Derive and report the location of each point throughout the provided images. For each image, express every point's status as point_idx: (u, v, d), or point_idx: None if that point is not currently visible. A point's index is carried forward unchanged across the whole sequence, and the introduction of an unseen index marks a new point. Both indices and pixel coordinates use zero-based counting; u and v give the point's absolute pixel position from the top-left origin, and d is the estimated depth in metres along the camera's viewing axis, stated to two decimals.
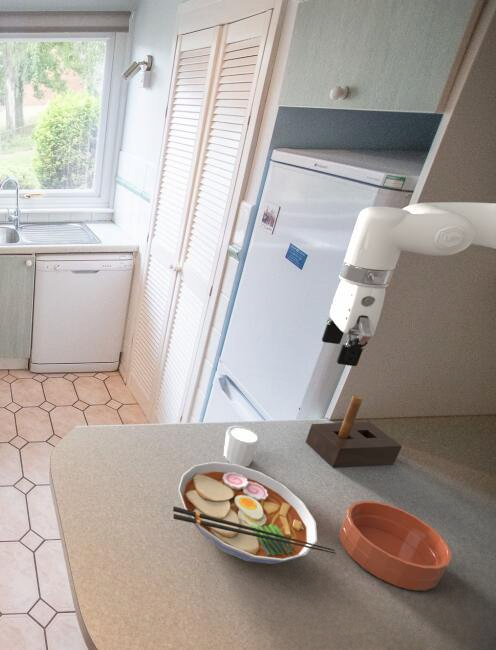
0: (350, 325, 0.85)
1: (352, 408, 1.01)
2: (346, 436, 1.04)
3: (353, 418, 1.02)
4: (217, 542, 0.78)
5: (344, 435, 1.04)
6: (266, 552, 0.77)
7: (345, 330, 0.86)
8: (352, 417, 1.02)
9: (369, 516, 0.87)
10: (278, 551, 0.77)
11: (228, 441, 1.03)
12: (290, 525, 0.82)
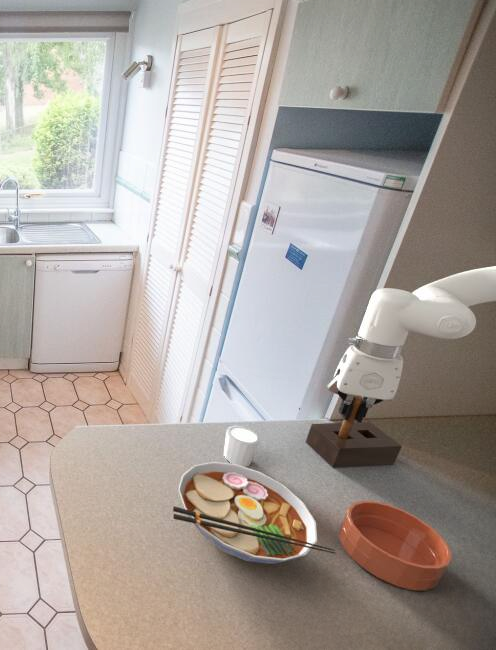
0: None
1: None
2: (346, 436, 1.04)
3: (353, 418, 1.02)
4: (217, 542, 0.78)
5: (344, 435, 1.04)
6: (266, 552, 0.77)
7: None
8: (352, 417, 1.02)
9: (369, 516, 0.87)
10: (278, 551, 0.77)
11: (228, 441, 1.03)
12: (290, 525, 0.82)
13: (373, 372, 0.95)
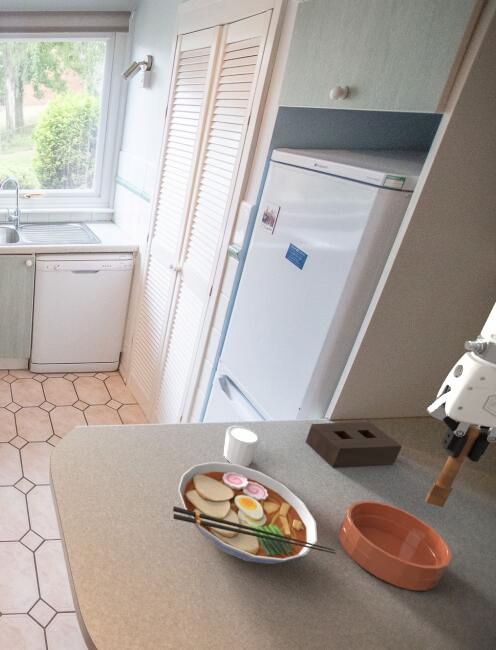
0: None
1: None
2: (451, 481, 0.74)
3: (464, 456, 0.72)
4: (217, 542, 0.78)
5: (447, 480, 0.74)
6: (266, 552, 0.77)
7: None
8: (463, 455, 0.72)
9: (369, 516, 0.87)
10: (278, 551, 0.77)
11: (228, 441, 1.03)
12: (290, 525, 0.82)
13: None
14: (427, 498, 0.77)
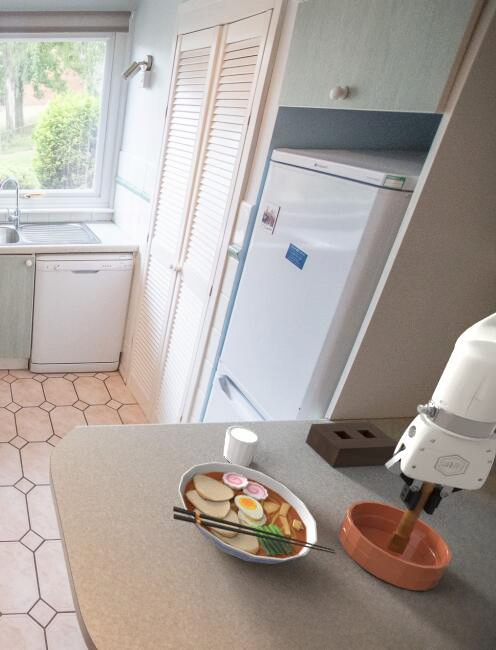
0: None
1: None
2: (409, 531, 0.78)
3: (420, 509, 0.76)
4: (217, 542, 0.78)
5: (405, 530, 0.78)
6: (266, 552, 0.77)
7: None
8: (418, 508, 0.76)
9: (369, 516, 0.87)
10: (278, 551, 0.77)
11: (228, 441, 1.03)
12: (290, 525, 0.82)
13: (455, 454, 0.69)
14: (388, 545, 0.81)
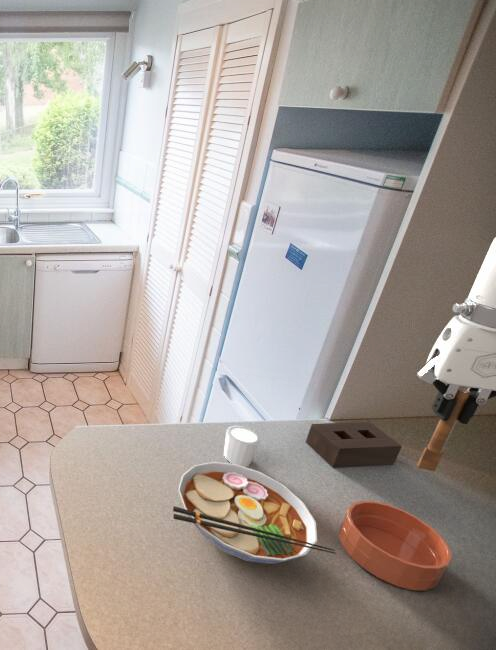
0: None
1: None
2: (442, 444, 0.75)
3: (454, 419, 0.73)
4: (217, 542, 0.78)
5: (438, 443, 0.75)
6: (266, 552, 0.77)
7: None
8: (453, 418, 0.73)
9: (369, 516, 0.87)
10: (278, 551, 0.77)
11: (228, 441, 1.03)
12: (290, 525, 0.82)
13: (493, 352, 0.66)
14: (419, 463, 0.78)
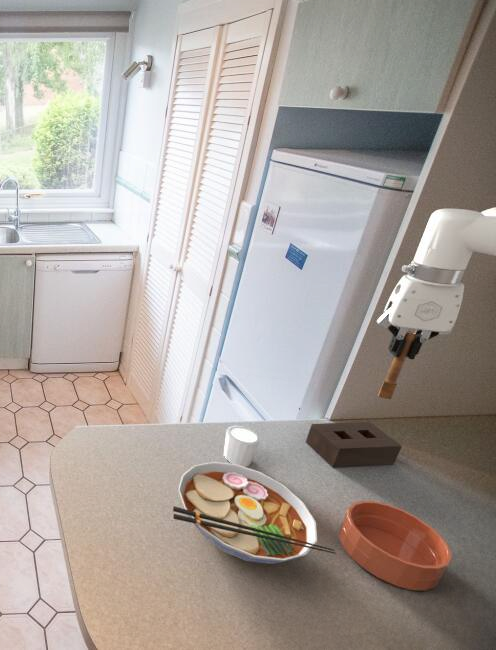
0: None
1: None
2: (396, 377, 0.97)
3: (404, 356, 0.95)
4: (217, 542, 0.78)
5: (393, 376, 0.97)
6: (266, 552, 0.77)
7: None
8: (403, 355, 0.95)
9: (369, 516, 0.87)
10: (278, 551, 0.77)
11: (228, 441, 1.03)
12: (290, 525, 0.82)
13: (430, 301, 0.88)
14: (379, 393, 1.00)
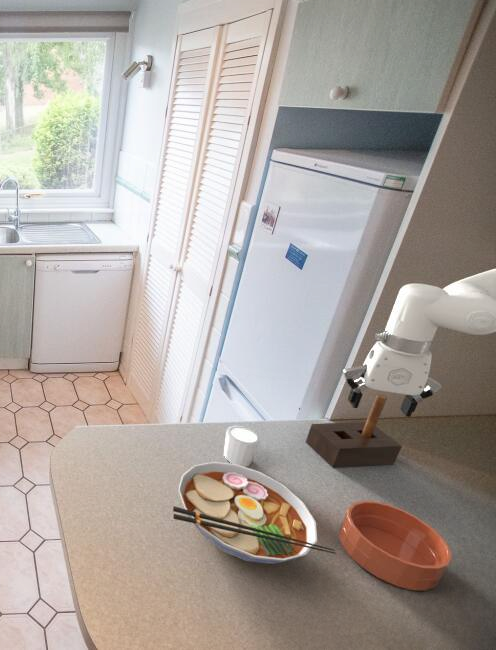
0: None
1: (375, 407, 1.02)
2: (369, 435, 1.04)
3: (376, 417, 1.02)
4: (217, 542, 0.78)
5: (366, 434, 1.04)
6: (266, 552, 0.77)
7: None
8: (375, 416, 1.02)
9: (369, 516, 0.87)
10: (278, 551, 0.77)
11: (228, 441, 1.03)
12: (290, 525, 0.82)
13: (401, 368, 0.95)
14: None
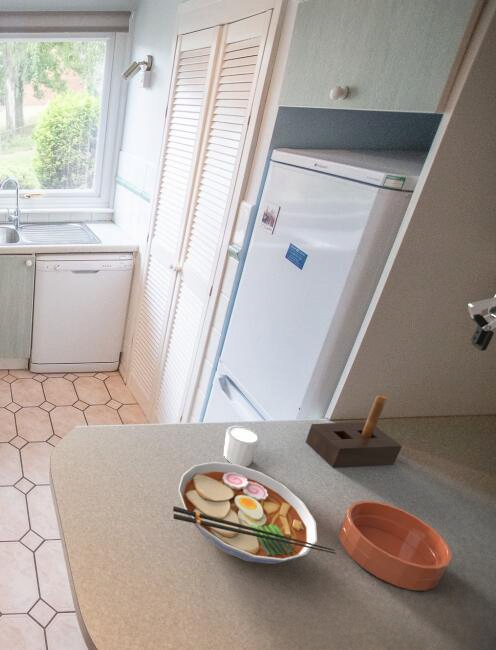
0: None
1: (375, 407, 1.02)
2: (369, 435, 1.04)
3: (376, 417, 1.02)
4: (217, 542, 0.78)
5: (366, 434, 1.04)
6: (266, 552, 0.77)
7: None
8: (375, 416, 1.02)
9: (369, 516, 0.87)
10: (278, 551, 0.77)
11: (228, 441, 1.03)
12: (290, 525, 0.82)
13: None
14: None
